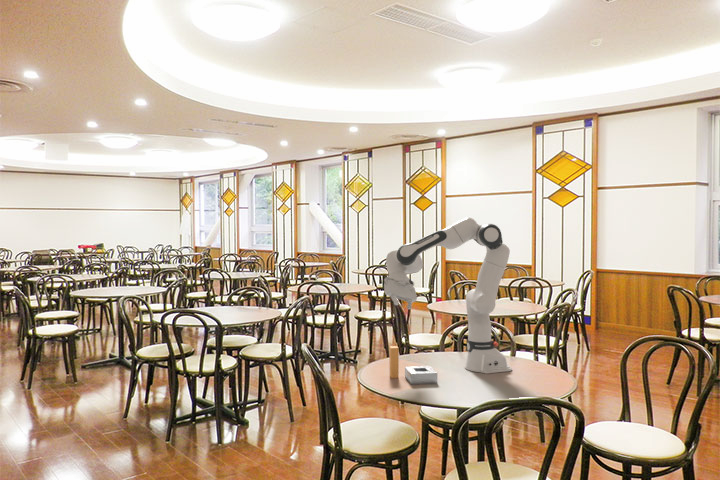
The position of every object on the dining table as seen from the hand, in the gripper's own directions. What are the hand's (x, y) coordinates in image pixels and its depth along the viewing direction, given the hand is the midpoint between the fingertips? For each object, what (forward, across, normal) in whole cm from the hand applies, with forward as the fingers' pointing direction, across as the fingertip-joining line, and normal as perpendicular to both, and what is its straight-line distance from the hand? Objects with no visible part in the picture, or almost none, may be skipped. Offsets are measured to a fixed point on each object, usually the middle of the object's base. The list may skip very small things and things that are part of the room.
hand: (403, 306), depth 253 cm
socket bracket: (+34, +6, +2) cm, 35 cm away
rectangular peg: (+30, +1, +14) cm, 33 cm away
